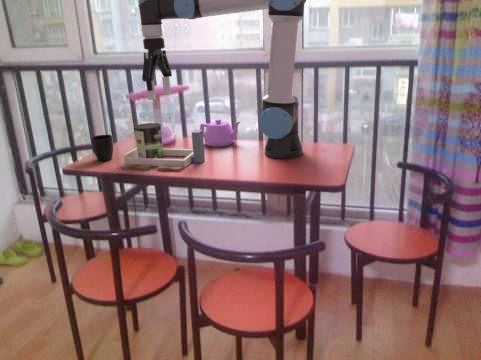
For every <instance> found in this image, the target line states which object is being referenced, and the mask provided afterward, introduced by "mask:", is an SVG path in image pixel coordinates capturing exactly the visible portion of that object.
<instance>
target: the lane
mask: <svg viewBox="0 0 481 360" xmlns="http://www.w3.org/2000/svg"><path fill="white" fill-rule="evenodd" d="M191 141H192V148H191V149H190V148H164V147H163V154H164V156H174V157H178V156H179V157H184V158H183V159H178V158H177V159H176V158H164V159H155V158H138V152H137V146H136V147H134V148H133V149H131V150H130V151H127V152H126V153H124V154H123V161H124V162H123V163H124V165H126V164H139V165H153V167H160V166H161V165H163V166H183V167H184V168H186V167H187V166H189V165H190V164H191V163H194V164H202V163H203V162H204V161H206V159H205V158H206V157H205V146H204V145H205V141H204V137H203V130H200V129H195V130H193V131H192V132H191Z"/></svg>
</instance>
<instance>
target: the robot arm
mask: <svg viewBox="0 0 481 360" xmlns="http://www.w3.org/2000/svg"><path fill="white" fill-rule="evenodd" d="M306 1H307V0H138V10H139V15H140V16H139V17H140V23H141V24H140V25H141V29H140V30H141V33H142V37H143V40H142V42H143V43H142V44H143V48H144V50H146V51H147V52H143V64H142V65H143V66H142V75H141V76H142V78H141V80H142V82H145V83H146V93H147V99H148V101H152V100H156V99H157V96H156V89H155V88H156V87H155V81H154V75H155V71H156V66H158V69H159V70H160V73H161V74H162V77H161V78H162V80H161V81H162V87H163V94H164V95H171V94H172V89H171V81H170V80H171V79H170V77H172V70H171V65H170V63H169V59H168V56H167V51H166V50H162V49H165V47H166V46H165V45H166V44H165V39H164V35H165V34H164V26H163V20H174V19H175V20H177V19H179V20H181V19H183V20H184V19H185V20H186V19H187V20H196V19H200V18H209V17H215V16H221V15H222V16H223V15H231V14H238V13H245V12H253V11H255V12H256V11H263V10H267V16H268V18H269V19H270V20H271V30H270V31H271V34H270V47H269V49H270V50H269V64H268V75H267V90H266V95H264V96H263V97H262V103H261V113H260V115H259V118H258V126H259V129H260V132H262V134H263V135H264V136H266V137H267V140H266V142H265V146H264V155H265V156H266V157H269V158H273V159H278V160H279V159H280V160H281V159H283V160H284V159H294V158H297V157H300V156H302V155H303V145H302V143H301V140H300V135H299V105H300V103H299V97H298V96H295V95H292V94H293V81H294V72H295V60H296V50H297V49H296V47H297V38H298V37H297V36H298V27H299V23H300V21H301V20H303V18H304V12H305V11H304V9H305V3H306Z"/></svg>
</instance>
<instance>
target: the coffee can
mask: <svg viewBox="0 0 481 360" xmlns="http://www.w3.org/2000/svg"><path fill="white" fill-rule="evenodd" d="M161 127H162V125H161V124H160V123H157V122H149V123H148V122H147V123H140V124H136V125H135V126H133V129H134V135H135V143H136V145H135V146H136V147H137V152H138V158H155V159H165V155H164V154H163V148H164V146H163V136H162V128H161Z"/></svg>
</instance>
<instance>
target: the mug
mask: <svg viewBox="0 0 481 360" xmlns="http://www.w3.org/2000/svg"><path fill="white" fill-rule="evenodd" d="M90 141H91V146H92V151H93V153H94V155H95V158H96V159H97V161H98V162H100V163H104V162H109V161H112V159H113V155H114V141H113V135H112V134H99V135H94V136H92V137H91V138H90Z"/></svg>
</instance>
